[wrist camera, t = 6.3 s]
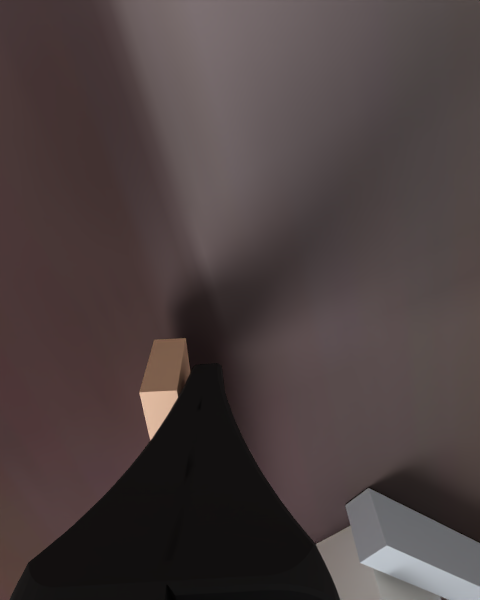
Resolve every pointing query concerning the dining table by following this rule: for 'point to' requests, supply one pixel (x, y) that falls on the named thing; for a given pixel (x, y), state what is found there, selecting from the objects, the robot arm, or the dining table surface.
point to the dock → (414, 547)
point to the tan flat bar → (163, 380)
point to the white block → (363, 574)
